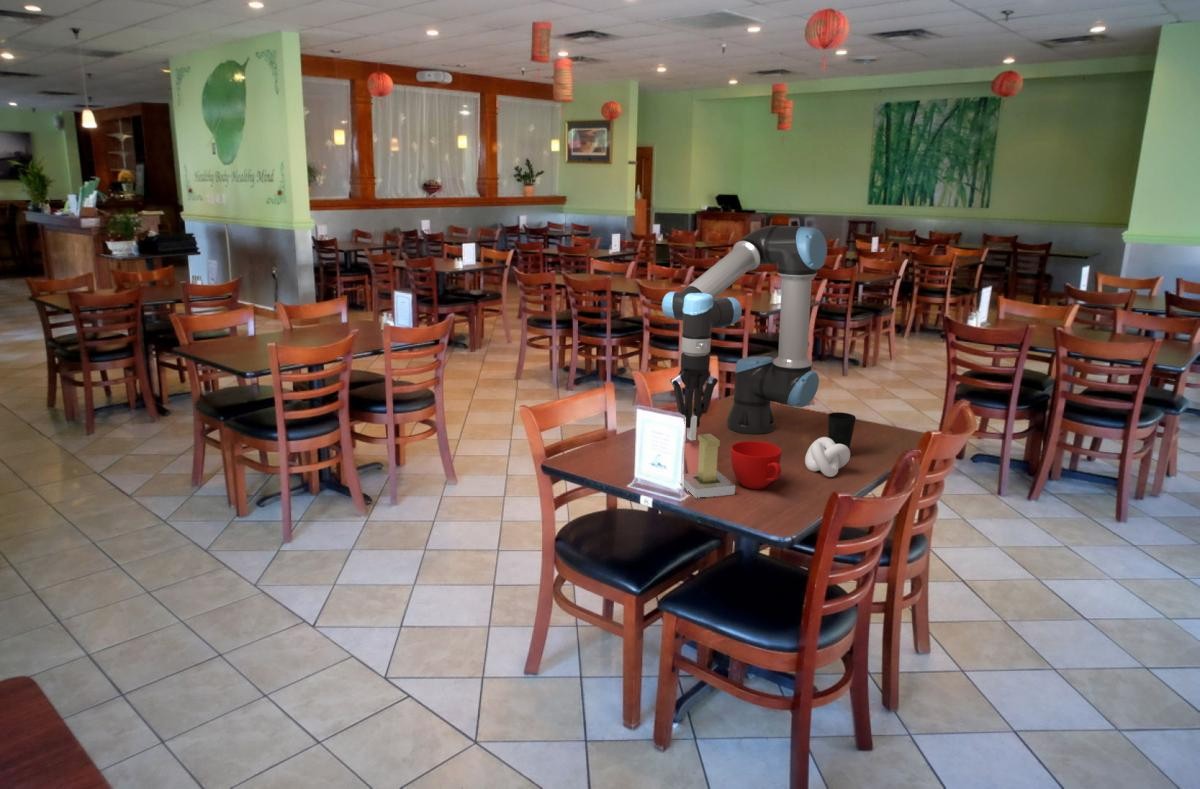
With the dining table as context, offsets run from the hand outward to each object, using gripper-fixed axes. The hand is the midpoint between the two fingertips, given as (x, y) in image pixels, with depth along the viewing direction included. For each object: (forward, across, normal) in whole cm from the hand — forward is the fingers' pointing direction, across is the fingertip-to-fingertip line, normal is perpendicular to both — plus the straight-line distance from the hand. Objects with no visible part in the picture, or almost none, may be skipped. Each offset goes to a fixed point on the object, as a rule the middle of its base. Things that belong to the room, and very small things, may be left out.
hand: (691, 438), depth 218 cm
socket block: (+10, 0, -11) cm, 15 cm away
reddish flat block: (+6, 0, -1) cm, 6 cm away
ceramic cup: (+10, +14, -13) cm, 22 cm away
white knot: (+10, +37, -8) cm, 39 cm away
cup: (+10, +49, +4) cm, 50 cm away
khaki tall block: (+10, 0, -11) cm, 15 cm away
